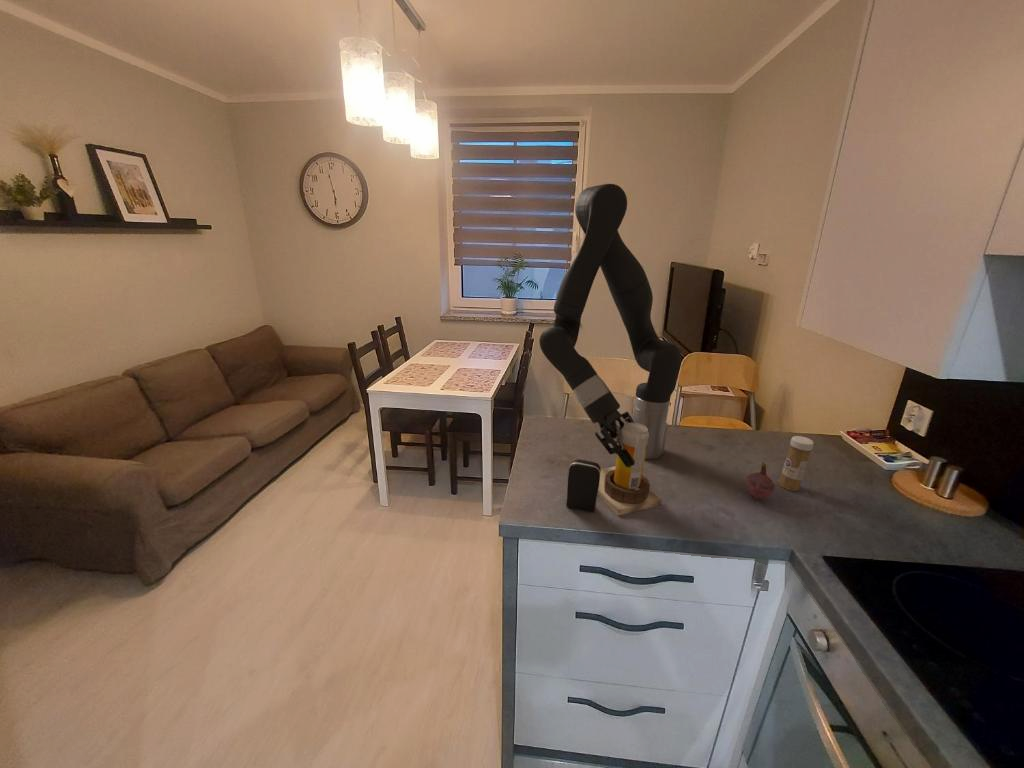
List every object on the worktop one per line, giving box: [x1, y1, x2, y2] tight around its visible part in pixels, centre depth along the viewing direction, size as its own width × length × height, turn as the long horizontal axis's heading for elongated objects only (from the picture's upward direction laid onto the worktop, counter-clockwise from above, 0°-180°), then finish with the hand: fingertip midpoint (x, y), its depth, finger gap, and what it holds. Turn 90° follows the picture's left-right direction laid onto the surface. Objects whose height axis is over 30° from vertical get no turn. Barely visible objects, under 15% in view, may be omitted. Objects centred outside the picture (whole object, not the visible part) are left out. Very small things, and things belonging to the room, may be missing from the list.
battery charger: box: [565, 458, 602, 513], centre depth 92 cm, size 7×4×11 cm, turn 71°
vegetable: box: [745, 461, 775, 500], centre depth 97 cm, size 6×6×10 cm
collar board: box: [597, 465, 662, 516], centre depth 99 cm, size 12×16×4 cm
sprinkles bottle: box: [778, 435, 815, 492], centre depth 102 cm, size 5×5×14 cm
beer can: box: [614, 423, 649, 490], centre depth 94 cm, size 6×6×15 cm
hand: (637, 459), depth 93 cm, fingers closed on beer can, 6 cm apart
